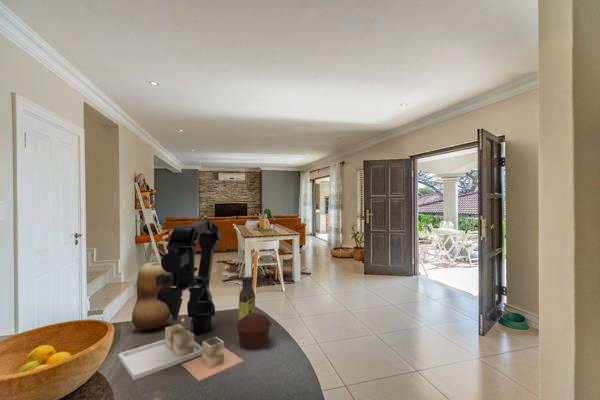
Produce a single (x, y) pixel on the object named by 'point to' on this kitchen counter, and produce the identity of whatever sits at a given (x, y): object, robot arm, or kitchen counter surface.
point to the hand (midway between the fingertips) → (184, 314)
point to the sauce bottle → (246, 297)
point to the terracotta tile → (203, 371)
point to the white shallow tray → (153, 359)
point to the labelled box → (212, 352)
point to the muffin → (253, 331)
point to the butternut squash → (149, 299)
